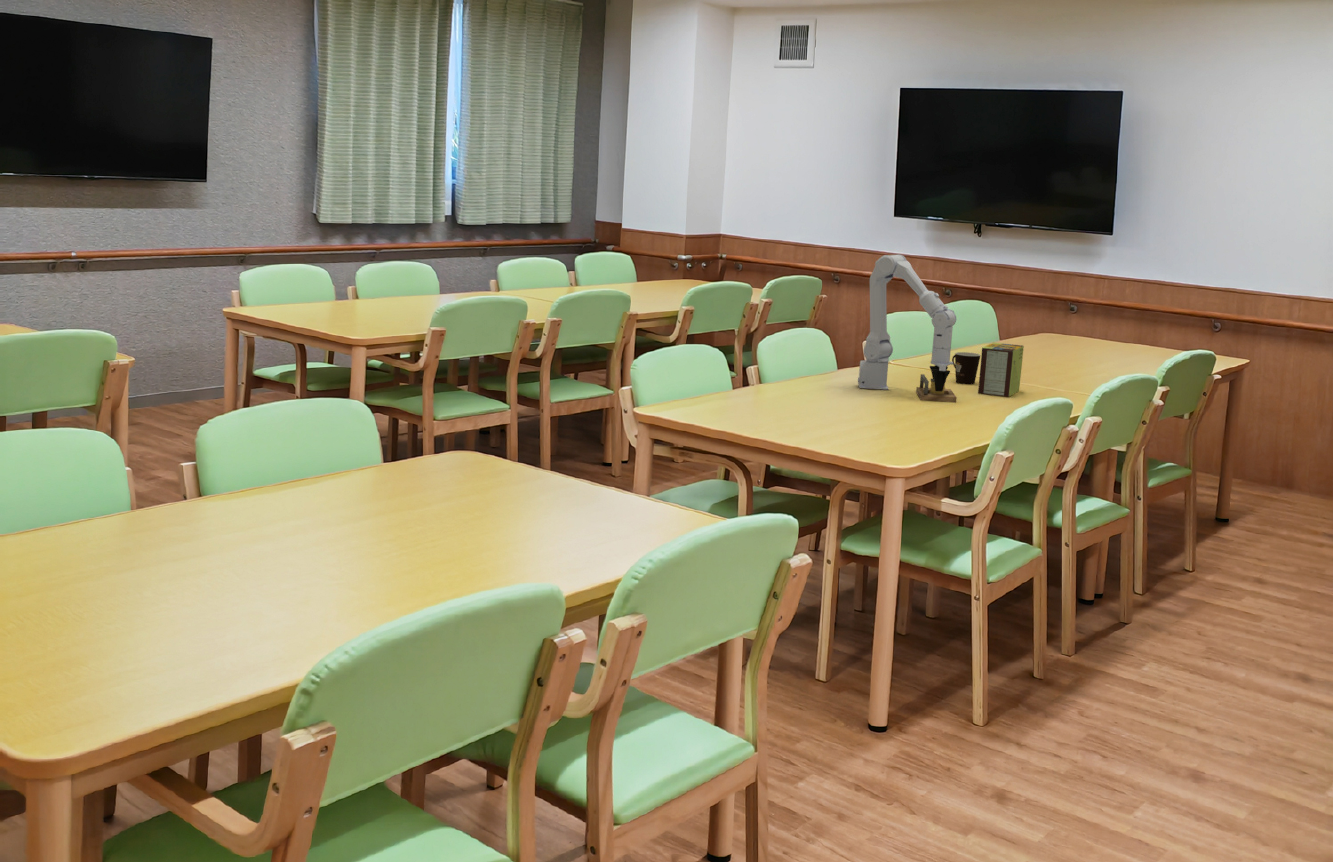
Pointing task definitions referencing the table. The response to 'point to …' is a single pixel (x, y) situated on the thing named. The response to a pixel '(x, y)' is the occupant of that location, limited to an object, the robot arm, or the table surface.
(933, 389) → the cord reel
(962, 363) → the coffee mug
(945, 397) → the brown piece
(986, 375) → the protein box
